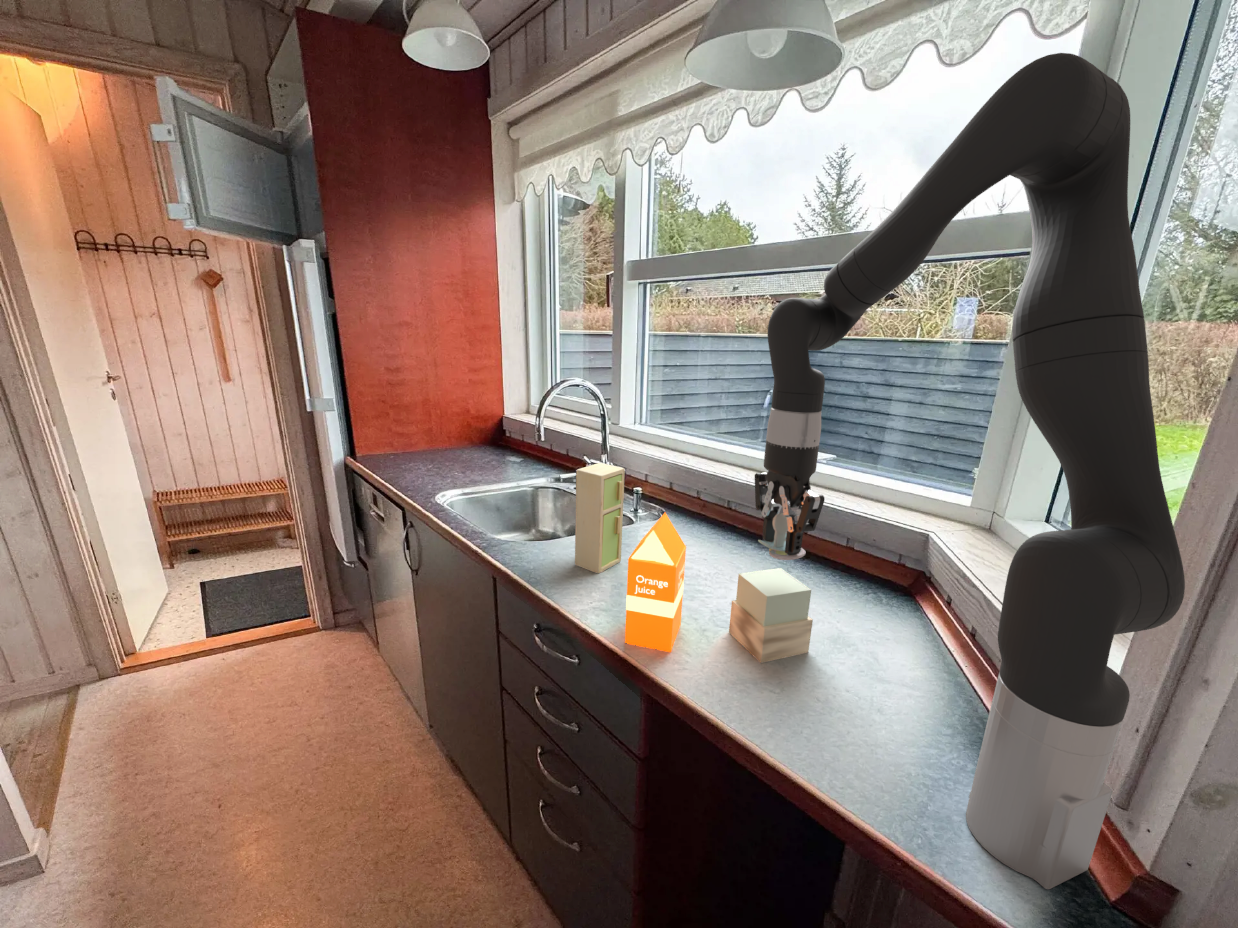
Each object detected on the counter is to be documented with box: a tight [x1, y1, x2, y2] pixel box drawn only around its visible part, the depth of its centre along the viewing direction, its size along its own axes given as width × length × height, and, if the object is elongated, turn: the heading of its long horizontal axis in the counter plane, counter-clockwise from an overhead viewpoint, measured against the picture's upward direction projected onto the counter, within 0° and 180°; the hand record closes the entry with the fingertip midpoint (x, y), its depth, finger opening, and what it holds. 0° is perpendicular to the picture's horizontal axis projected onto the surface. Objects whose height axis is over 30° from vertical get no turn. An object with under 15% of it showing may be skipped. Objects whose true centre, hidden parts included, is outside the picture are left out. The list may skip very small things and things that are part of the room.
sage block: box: [735, 567, 812, 626], centre depth 86 cm, size 8×8×5 cm
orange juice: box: [624, 512, 687, 653], centre depth 87 cm, size 8×9×20 cm
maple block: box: [728, 599, 814, 664], centre depth 88 cm, size 9×9×6 cm
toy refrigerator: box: [574, 462, 626, 574], centre depth 112 cm, size 8×7×21 cm
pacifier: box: [757, 512, 806, 561], centre depth 83 cm, size 7×6×6 cm
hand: (780, 546), depth 84 cm, fingers closed on pacifier, 5 cm apart
